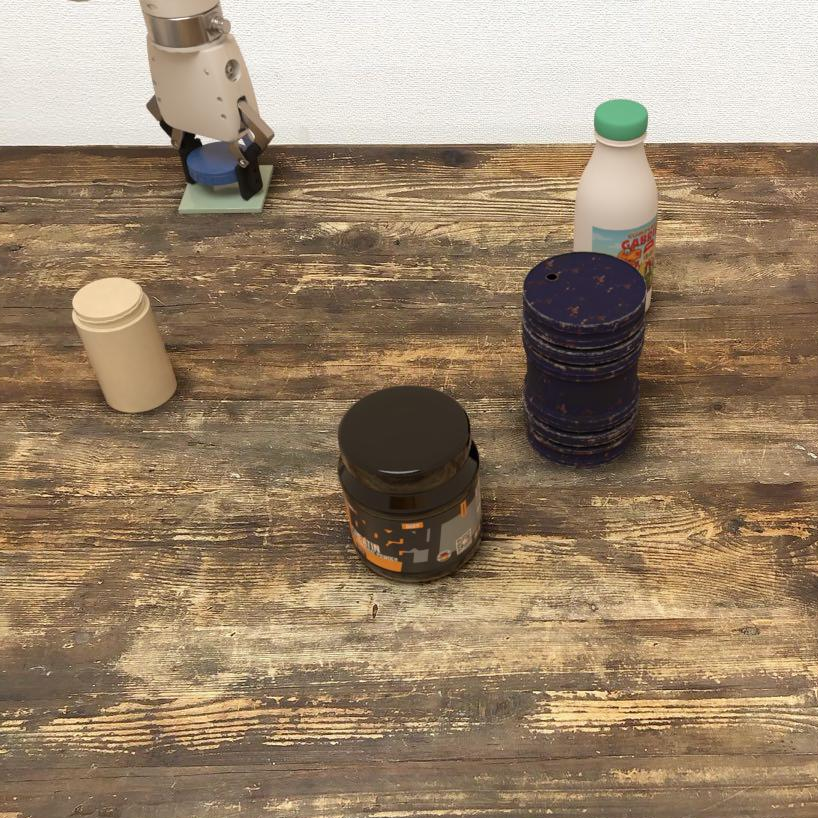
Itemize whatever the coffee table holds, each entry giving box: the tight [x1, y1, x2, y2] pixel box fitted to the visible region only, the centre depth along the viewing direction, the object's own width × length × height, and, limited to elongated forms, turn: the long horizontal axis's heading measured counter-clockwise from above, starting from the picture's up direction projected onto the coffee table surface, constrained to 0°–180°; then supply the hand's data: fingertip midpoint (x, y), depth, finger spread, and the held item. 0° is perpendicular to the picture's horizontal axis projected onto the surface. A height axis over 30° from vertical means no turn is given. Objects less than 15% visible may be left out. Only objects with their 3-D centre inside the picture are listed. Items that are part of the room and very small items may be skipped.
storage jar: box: [521, 251, 647, 469], centre depth 88 cm, size 10×10×15 cm
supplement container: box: [336, 384, 484, 583], centre depth 81 cm, size 10×10×12 cm
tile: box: [177, 164, 275, 215], centre depth 120 cm, size 9×9×1 cm
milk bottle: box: [572, 98, 659, 312], centre depth 98 cm, size 8×8×20 cm
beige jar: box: [71, 277, 178, 414], centre depth 94 cm, size 6×6×10 cm
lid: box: [187, 140, 247, 186], centre depth 117 cm, size 7×7×2 cm
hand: (225, 184), depth 119 cm, fingers closed on lid, 6 cm apart
